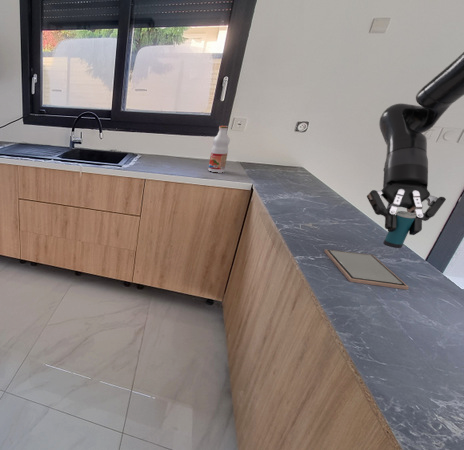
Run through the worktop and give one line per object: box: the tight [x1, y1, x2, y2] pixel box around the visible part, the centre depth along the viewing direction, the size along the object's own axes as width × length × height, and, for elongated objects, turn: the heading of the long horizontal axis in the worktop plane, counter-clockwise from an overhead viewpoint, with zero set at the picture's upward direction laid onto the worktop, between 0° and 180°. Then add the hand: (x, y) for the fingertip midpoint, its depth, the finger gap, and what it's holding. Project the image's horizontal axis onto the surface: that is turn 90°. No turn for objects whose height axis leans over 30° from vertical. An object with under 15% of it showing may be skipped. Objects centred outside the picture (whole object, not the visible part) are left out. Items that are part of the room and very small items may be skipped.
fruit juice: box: [207, 125, 230, 174], centre depth 193 cm, size 9×9×28 cm
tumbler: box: [383, 210, 417, 249], centre depth 75 cm, size 3×3×8 cm
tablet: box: [324, 248, 410, 291], centre depth 88 cm, size 12×18×1 cm, turn 160°
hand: (402, 231), depth 74 cm, fingers closed on tumbler, 3 cm apart
